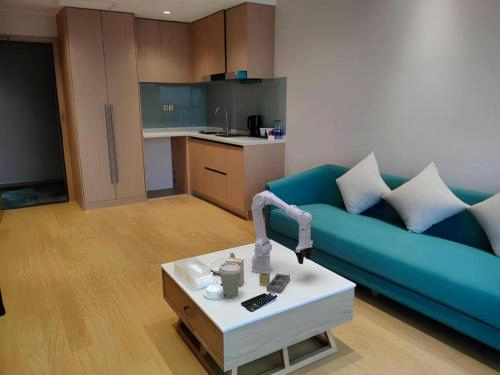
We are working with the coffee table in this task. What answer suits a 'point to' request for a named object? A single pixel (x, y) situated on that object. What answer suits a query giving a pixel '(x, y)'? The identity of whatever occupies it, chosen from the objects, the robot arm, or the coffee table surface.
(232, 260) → the supplement box
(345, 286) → the coffee table surface
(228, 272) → the disposable coffee cup
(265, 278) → the wooden block
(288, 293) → the coffee table surface
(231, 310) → the coffee table surface
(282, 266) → the coffee table surface
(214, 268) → the spoon rest
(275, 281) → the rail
